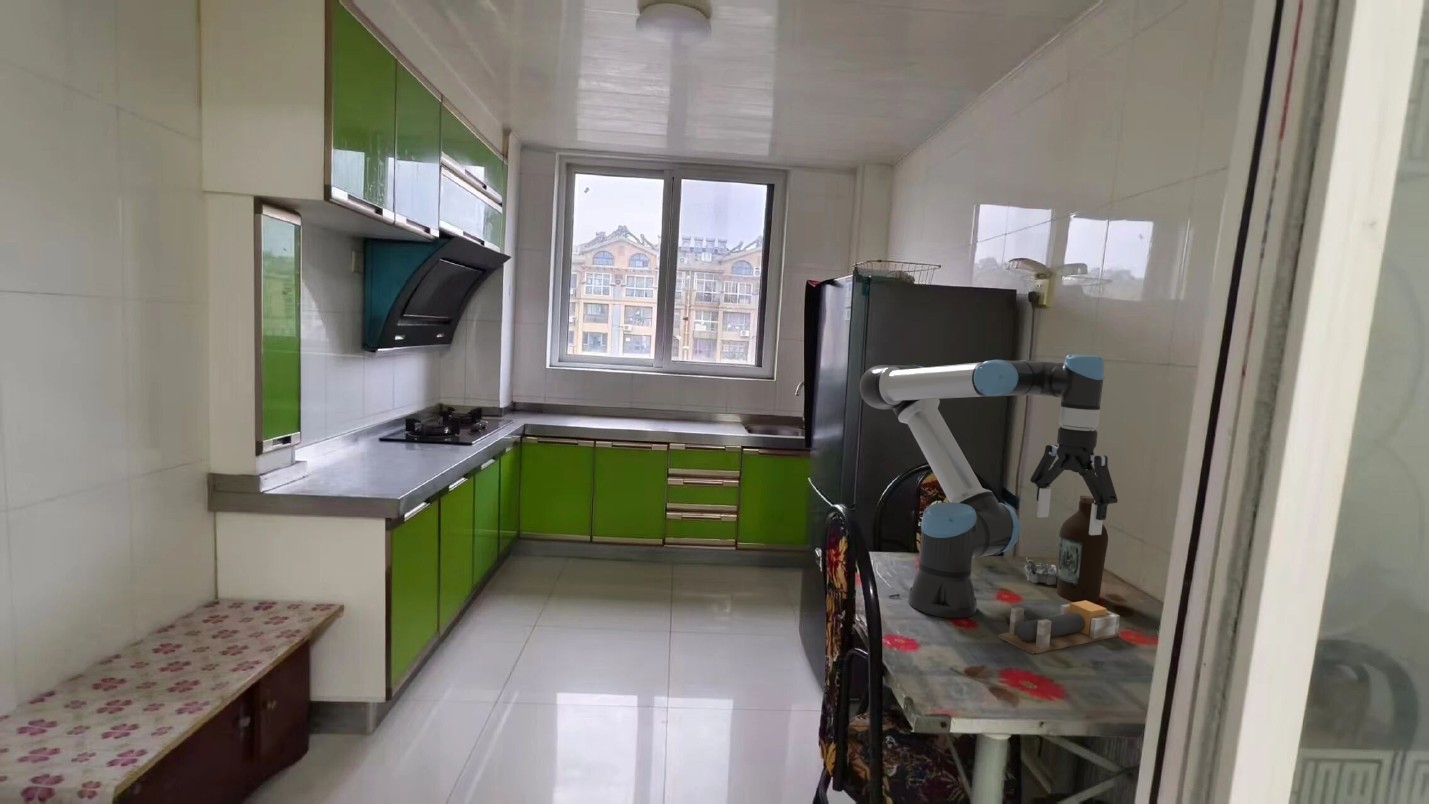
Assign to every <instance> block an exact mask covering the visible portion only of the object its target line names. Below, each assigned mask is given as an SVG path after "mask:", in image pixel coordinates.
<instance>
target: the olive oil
mask: <svg viewBox="0 0 1429 804" xmlns="http://www.w3.org/2000/svg"><path fill="white" fill-rule="evenodd" d="M1079 499H1080V500H1079V501H1078V510H1077V511H1076V512H1075V513H1073V514H1072V515H1071V516H1070V517H1068V518H1067V519H1066V520H1065V521H1064V522H1063V523H1062V525H1061V527H1060V530H1059V533H1058V539H1059V541H1058V542H1059V543H1058V563H1057V564H1058V565H1057V566H1058V568H1057V581H1056V584H1057V585H1056V586H1057V587H1056V593H1057V594H1058V595H1059V596H1060V597H1062V598H1064V599H1066V600H1070V601H1074V602H1079V601H1085V600H1086V601H1089V602H1091V603H1098V601H1099V600H1100V598H1101V597H1100V596H1101V589H1102V581H1103V577H1104V576H1103V575H1104V568H1105V563H1106V562H1105V561H1106V557H1107V556H1106V555H1107V550H1108V549H1107V548H1108V544H1109V543H1108V542H1109V534H1108V531H1107V528H1106V526H1105V525H1104V524H1103V523H1102V532H1101V535H1089V527H1090V518H1091V509H1092V503H1095V500H1094V498H1093V496H1092V495H1080V496H1079Z"/></svg>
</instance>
